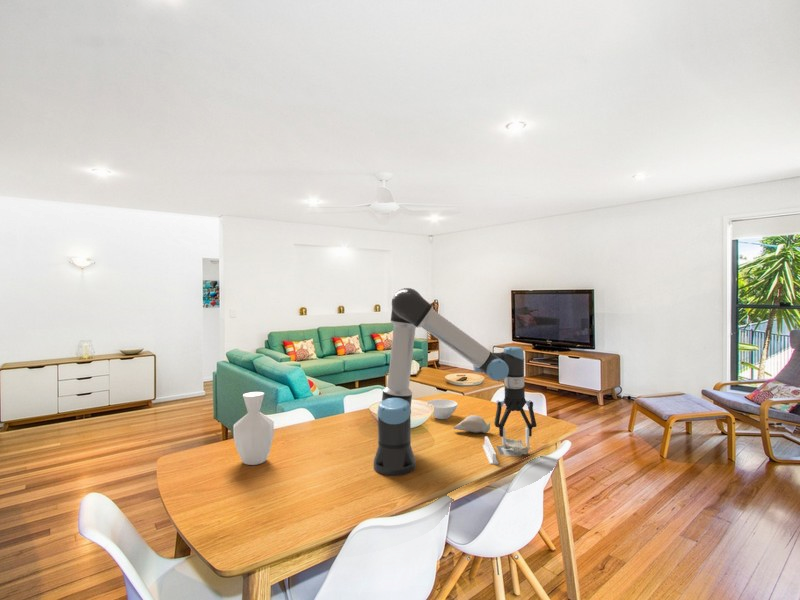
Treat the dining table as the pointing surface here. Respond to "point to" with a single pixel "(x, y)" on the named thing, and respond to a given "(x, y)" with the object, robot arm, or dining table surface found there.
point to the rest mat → (508, 451)
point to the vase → (253, 431)
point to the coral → (516, 446)
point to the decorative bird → (473, 424)
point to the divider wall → (490, 451)
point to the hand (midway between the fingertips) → (515, 444)
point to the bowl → (443, 408)
